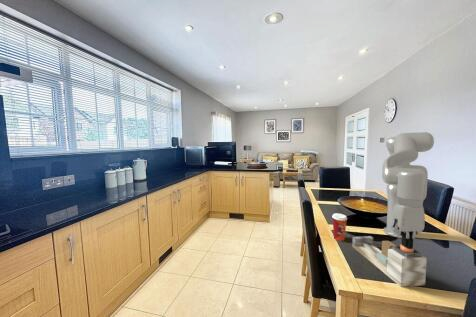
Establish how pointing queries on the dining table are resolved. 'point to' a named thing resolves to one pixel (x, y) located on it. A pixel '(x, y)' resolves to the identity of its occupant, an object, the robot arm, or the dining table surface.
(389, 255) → the track
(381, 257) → the carriage
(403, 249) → the button
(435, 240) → the dining table surface
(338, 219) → the paper cup
